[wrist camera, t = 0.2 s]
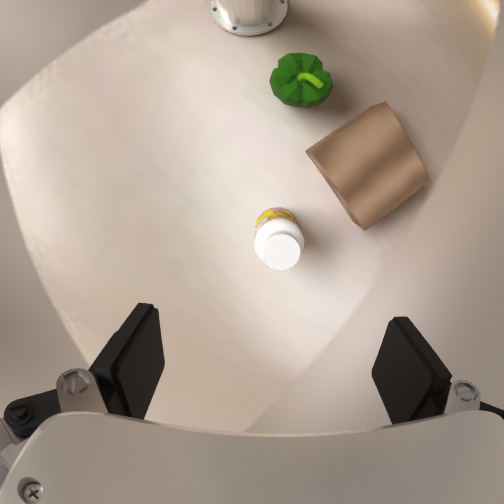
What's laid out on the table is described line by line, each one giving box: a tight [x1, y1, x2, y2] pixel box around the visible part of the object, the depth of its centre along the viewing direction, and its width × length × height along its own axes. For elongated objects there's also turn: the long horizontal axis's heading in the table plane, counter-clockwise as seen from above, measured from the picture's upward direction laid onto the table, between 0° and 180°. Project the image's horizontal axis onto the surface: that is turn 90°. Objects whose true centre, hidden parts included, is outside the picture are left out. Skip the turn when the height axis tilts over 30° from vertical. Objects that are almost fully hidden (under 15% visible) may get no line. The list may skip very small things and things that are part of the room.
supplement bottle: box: [254, 207, 304, 271], centre depth 40 cm, size 7×7×13 cm
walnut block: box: [305, 102, 430, 230], centre depth 39 cm, size 14×14×6 cm
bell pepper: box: [270, 53, 333, 108], centre depth 34 cm, size 8×8×10 cm
